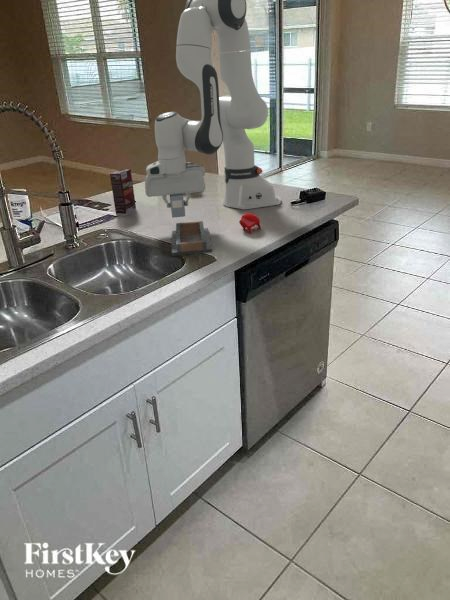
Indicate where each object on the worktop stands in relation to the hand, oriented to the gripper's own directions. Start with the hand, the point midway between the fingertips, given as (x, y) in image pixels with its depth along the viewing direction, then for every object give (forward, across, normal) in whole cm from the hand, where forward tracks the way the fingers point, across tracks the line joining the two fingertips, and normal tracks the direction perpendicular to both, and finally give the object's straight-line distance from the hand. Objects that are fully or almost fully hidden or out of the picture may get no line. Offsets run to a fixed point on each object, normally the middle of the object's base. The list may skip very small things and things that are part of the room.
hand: (177, 206), depth 162 cm
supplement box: (+7, +21, -22) cm, 31 cm away
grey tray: (+7, -3, +18) cm, 20 cm away
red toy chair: (+7, -23, +12) cm, 27 cm away
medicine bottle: (+8, -4, -48) cm, 49 cm away
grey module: (+3, 0, 0) cm, 3 cm away
